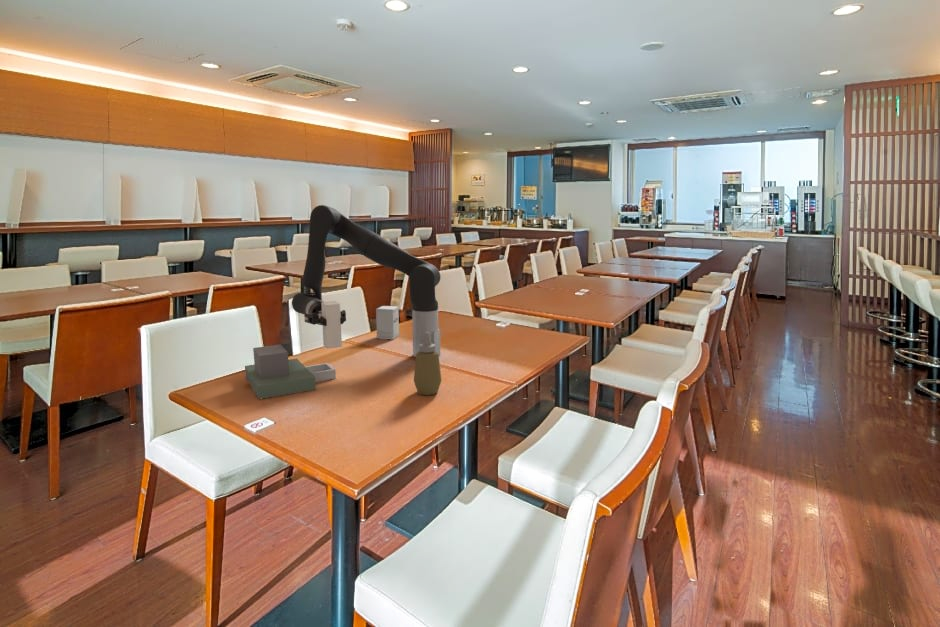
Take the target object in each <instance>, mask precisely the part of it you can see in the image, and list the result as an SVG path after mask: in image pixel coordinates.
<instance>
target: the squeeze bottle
mask: <svg viewBox="0 0 940 627" xmlns="http://www.w3.org/2000/svg"><path fill="white" fill-rule="evenodd" d="M414 360H415V362H414V373H413V382H414V386H415V389H416V391H417V393H418V394H419V395H421V394H423V396H431V395H430V394H433V395H436V394H437V393H438V392H439V389H440V386H441V384H442V374H441V365H440V364H441V363H440V355H439V354H438V353H437V352H436V351H435V344H432V343H431V339H430V335H429V332H426V333H425V335H424V340H423V344H420V345H419V352H417V354H416V358H415V359H414ZM435 393H436V394H435Z"/></svg>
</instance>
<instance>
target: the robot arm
mask: <svg viewBox="0 0 940 627" xmlns="http://www.w3.org/2000/svg"><path fill="white" fill-rule="evenodd" d="M329 234H330V235H333V236H336V237H338V238H339V239H341V240H343V241H345V242H347V243H348V244H349V245H350V246H351V247H352V248H353V249H355V250H356V251H357V252H358V253H359V254H361V255H362V256H363V257H365V258H367V259H368V260H371V261H372V262H374V263H375V264H378V265H380V266H383V267H386V268H389V269H392V270H395V271H399V272H401V273H403V274H404V275H406V276H408V278H409V281H408V283H409V286H408V287H409V301H410V303H411V311H412V312H411V314H412V317H411V318H412V322H411V323H412V356H413V357H414V358H415V357H416V354H417V352H419V345H420V344H423V340H424V335H425V333H426V332H429V335H430V339H431V343H432V344H435V351H436V352H437V353H438V354H439V356H440V355H441V329H440V328H439V302H438V301H437V298H436V287H437V286H438V285H439V283H440V281H441V273H440V270H439V269H438V268H437V266H435V265H434V264H432V263H430V262H428V261H426V260H423V259H422V258H421V259H420V258H419V257H416V256H415V255H412V254H410V253H409V252H407V251H405V250H404V249H402V248H401V247H399V246H398V245H397V244H395V243H393V242H392V241H390V240H388V239H387V238H385V237H383V236H381V235H380V234H378V233H376V232H374V231H372V230H371V229H368V228H366V227H364V226H361V225H359V224H357V223H355V222H354V221H352V220H351V219H349V218H348V217H347V216H345V215H344V214H343V213H341V212H340V211H339V210H337V209H336V208H333V207H331V206H328V205H325V204H324V205H323V204H321V205H317V206H315V207H314V208H313V209H312V210H311V212H310V216H309V232H308V242H307V243H308V244H307V254H306V259H305V265H304V270H303V274H302V280H301V285H302V286H303V287H305V288H308V289H310V290H312V293H313V294H310V293H305V292H298V293H295V295H293V298H292V300H291V307H292V309H293V310H294V311H295V312H296V313H298V314H302V315H304V316H303V317H304V323H307V324H311V325H319V326H322V327H323V326H327V320H326V319H325V318H324V317H322V305H321V302H325V301H323V298H322V297H323V296H322V290H323V287H322V284H323V281H324V280H323V279H324V276H325V272H326V270H325V269H326V241H327V237H328V235H329ZM340 315H341V317H340V322H341V325H344V323H345V322H346V321H347V313H346V310H345V309H342V310H340Z"/></svg>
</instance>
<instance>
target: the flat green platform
mask: <svg viewBox="0 0 940 627" xmlns="http://www.w3.org/2000/svg"><path fill="white" fill-rule="evenodd" d="M252 351H253V352H252V353H253V360H254V362H253V364H248V365H244V372H245V379H246V381H247V380H248V381H247V382H248V384H249V386H250V385H251V386H250V387H251V389H252V391H253V390H254V391H253V392H255V393H254V394H255V396H256V395H257V396H256V398H257V397H258V398H257V400H259V399H261V398H266V399H269V398H268V397H272V398H275V397H274V396H278V397H282V396H281V395H283V396H287V395H286V394H289V395H293V394H292V393H295V394H299V393H298V392H300V393H304V392H303V391H306V392H310V390H312V391H316V390H317V388H316V387H317V386H316V383H319V382H324V381H329V380H330V379H331V380H335V378H336V379H337V376H336V375H337V374H336V373H337V372H336V368H334V366H332V365H331V364H330V363H328V362H325V363H319V364H312V365H304V364H303V363H302V362H301V360H299V359H298V358H291V359H290V358H289V353H288V352H289V351H288V350H286V348H284V346H283V345H282V344H274V345H265V346H259V347H253V348H252ZM261 400H262V399H261Z"/></svg>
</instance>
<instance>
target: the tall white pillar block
mask: <svg viewBox="0 0 940 627" xmlns="http://www.w3.org/2000/svg"><path fill="white" fill-rule="evenodd" d="M321 305H322V317H324V318H325V319H326V320H327V326H323V325H322V341H323V343H322V344H323V346H324V347H325V348H326V349H335V348H341V347H343V345H342V342H343V341H342V324H341V322H340V317H341V315H340V311H341V303H340V302H338V301H336V300H333V301H324V302H321Z"/></svg>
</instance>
